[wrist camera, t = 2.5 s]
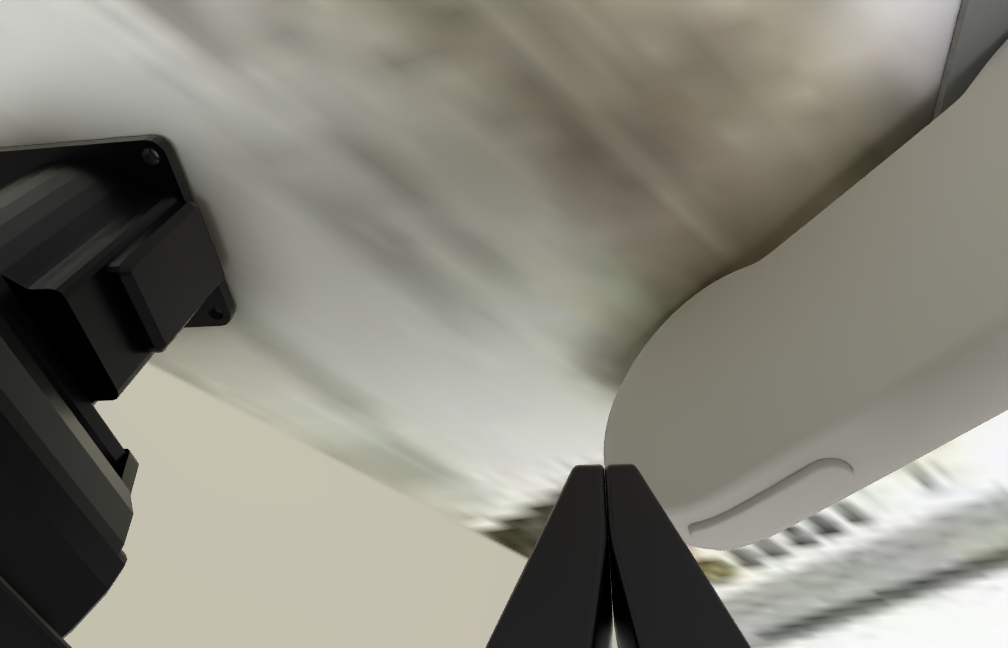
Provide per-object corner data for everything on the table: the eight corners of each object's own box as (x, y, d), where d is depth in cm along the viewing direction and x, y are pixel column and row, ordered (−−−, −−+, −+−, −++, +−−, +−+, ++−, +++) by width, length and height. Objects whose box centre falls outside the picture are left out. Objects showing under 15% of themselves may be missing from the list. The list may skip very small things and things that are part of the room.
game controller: (646, 404, 24) (665, 617, 17) (598, 370, 24) (600, 577, 17) (1301, -94, 14) (1938, -50, 8) (1251, -176, 14) (1899, -208, 7)
